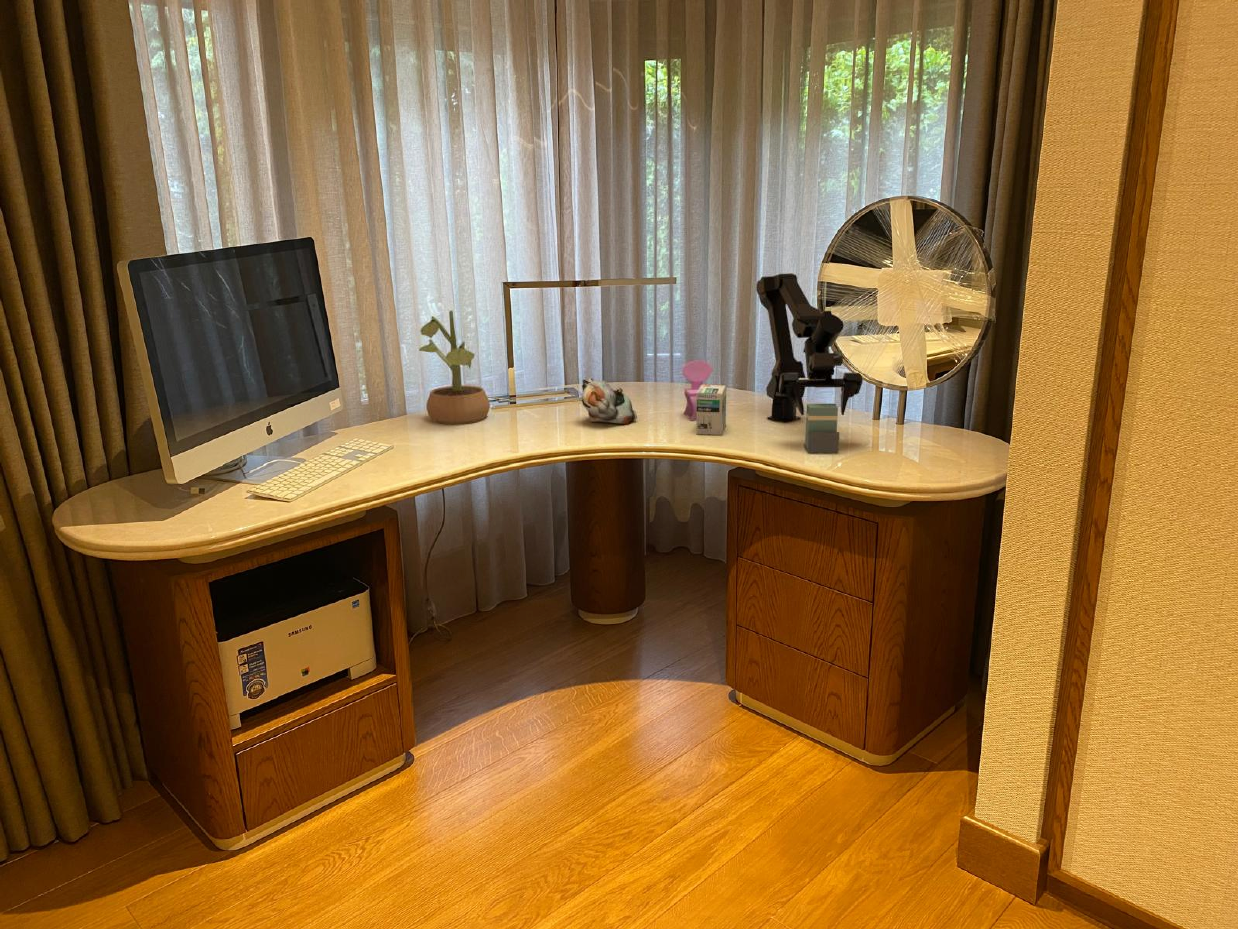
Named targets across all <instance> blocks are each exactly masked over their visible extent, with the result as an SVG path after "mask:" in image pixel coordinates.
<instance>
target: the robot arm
mask: <svg viewBox="0 0 1238 929" xmlns="http://www.w3.org/2000/svg"><path fill="white" fill-rule="evenodd" d="M755 288H756V292H757V294H758V297H759V302H760V304H761V305H762V306H763V307H764V308H765V309H766V311H767V313H768V319H769V326H770V332H771V337H772V338H771V339H772V345H773V351H774V358H775V364H774V366H773V368H772V370H771V378H770V380H769V382H768V384H767V385H766V388H765V389H766V390H765V391H766V396H767V397H769V398H771V399H772V403H771V415H770V416H767V419H768V420H772V421H775V422H782V423H787V424H788V423H790V422H793V421H799V420H801V418H802V417H801V416H804V414H805V408H804V401H803V397H804V395H805V391H806V388H815V389H816V388H817V389H818V388H823V389H824V388H828V389H829V388H832V389H833V388H837V389H838V388H840V390H841V394H840V412H841V416H844V415H845V412H846V408H847V403H848V401H849V398H853V397H854V396H855V395H858V394H860V391H861V389H862V388H861V387H862V385H863V383H864V380H863V375H862V374H861V373H860V372H844V373H843V377H842V378H833V376H834V374H835V368H836V367H840V366H842V365H843V363H844V357H843V351H842V350H834V351H833V352H830V347H832V346H833V345H834V344H835V343H836V341H837V339H838V338H839V336H840V334H841V333H842V332H843V330H844V327H845V326H844V322H843V320H842V319H841V318H840V317H838V316H837V315H835V314H833V313H832V310H823V311H822V312H821V311H820V310H819V309H818V308H816V307H814V306H812V305H811V304H810V302H809V300H808V299H807V297H806V295H805V293H804V291H803V289H802V287H801V286H800V284H799V282H798V276H797V275H796V274H794V273H791V272H790V273H778V274H776V275H774V276H773V275H772V276H771V275H770V276H769V275H768V276H767V275H766V276H761V277H760V279H759V280H758V281H757V282H756V286H755ZM787 308H788V309H789V312H790V313H791V316H792V322H791V326H792V332H793V333H794V335H795V336H796V338H797V339H806V340H805V341H804V344H803V345H804V348H803V353H804V354H805V368H806V375H805V373H804V372H805V371H804V364H803V362H802V361H800V360H799V361H798V360H797V359H796V357H795V355H794V349H793V348H794V347H793V343H792V341H793V340H792V337H791V330H790V324H789V318H788V312H787ZM797 410H798V412H799V413H800V415H801V416H797ZM767 419H766V420H767Z"/></svg>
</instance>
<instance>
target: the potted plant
mask: <svg viewBox="0 0 1238 929" xmlns="http://www.w3.org/2000/svg"><path fill="white" fill-rule="evenodd" d="M448 313H449V314H448V315H449V316H448V317H449V331H450V333H449V332H448V331H447V329H446V328H445V327H444V325H443V323H441V322H440V320H439V319H438V318H436V317H435V316H431V318H430V319H431V320H430V321H429V322H427V323H425V324H424V325H423V326H422V327H421V329H420V330H419V332H420V335H422V336H426V337H428V338H430V339H429V340H428V342H429V343H428V344H425V345H423V346H421V347H420V348H419V349H418V351H419V352H427V353H436V354H437V356H439V358H440V359H441V360H442V361H444V363H446V365H447V366H448V367H449V369H450V370H451V375H452V377H451V378H452V381H451V385H449V386H448V385H447V386H442V387H441V386H440V387H437V388H434V389H432V390H431V391H430V392H429V396H428V398H427V401H426V406H425V407H426V412H427V414H428V416H429V418H430V419H431V420H432V421H434V422H435V423H437V424H442V425H443V424H444V425H465V424H472V423H476V422H480V421H482V420H484V418H486V417H487V416H488V414H489V412H490V406H491V404H490V400H489V397H488V396H487V394H486V391H485V390H484V388H483V387H480V386H476V385H466V384H465V385H464V384H463V385H462V374H461V366H467V367H468V368H469V370H471V366H472V360H473V359H475V355H476V354H475V353H473V352H472V351H469V350H468V349H467V348H465V346H466V344H465V343H466V342H465V340H463V341H462V342H461V344H460V345H459V347H458V346H457V336H456V330H455V321H454V311H453V310H451V309H450V310H448ZM439 330H440V332H441V333H442V335H443V336H444V338H445V339H446V341H448V343H449V344H450V351H448V353H447V354H446V355H445V354H444V353H443V352H442V350H440V348H439V347H438V346H437V345H436V343H435V342H434V341H433V340H432V338H433V337H434V336H435V335H436V334H437V333H438V331H439Z"/></svg>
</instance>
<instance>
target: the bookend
mask: <svg viewBox="0 0 1238 929" xmlns="http://www.w3.org/2000/svg"><path fill="white" fill-rule="evenodd" d="M839 444H840V432H839V431H837V432H808V447H807V448H806V446H805V443H803V444H802V445H803V447H804V449H805V451H806V453H807V454H827V455H828V454H832V453H833V454H834V453H835V454H836V453H838V454H839V448H840V446H839Z"/></svg>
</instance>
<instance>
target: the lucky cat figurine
mask: <svg viewBox="0 0 1238 929" xmlns="http://www.w3.org/2000/svg"><path fill="white" fill-rule="evenodd" d="M581 388H582V394H581V403H582V407H584V409H586V411H587V414H588V417H589V421H590V422H591V423H597V422H598V423H599V422H600V423H601V422H602V423H610V424H611V423H612V424H613V423H614V424H620V425H625V426H626V425H630V424H632V423H633V422H634V421H635V420H637V419H638V414H637V412H636V410H634V409H633V404H632V401H631V398H629V397H628V396H627V394H624V393H623V391H624V390H623V389H622V388H621V387H620V386H619V387H617V388H616V390H614V389H613V388H612V387H611V385H610V384H609V383H608V382H606V381H605V380H600V379H599V380H594V378H593V377H589V378H587V379H582V386H581Z"/></svg>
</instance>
